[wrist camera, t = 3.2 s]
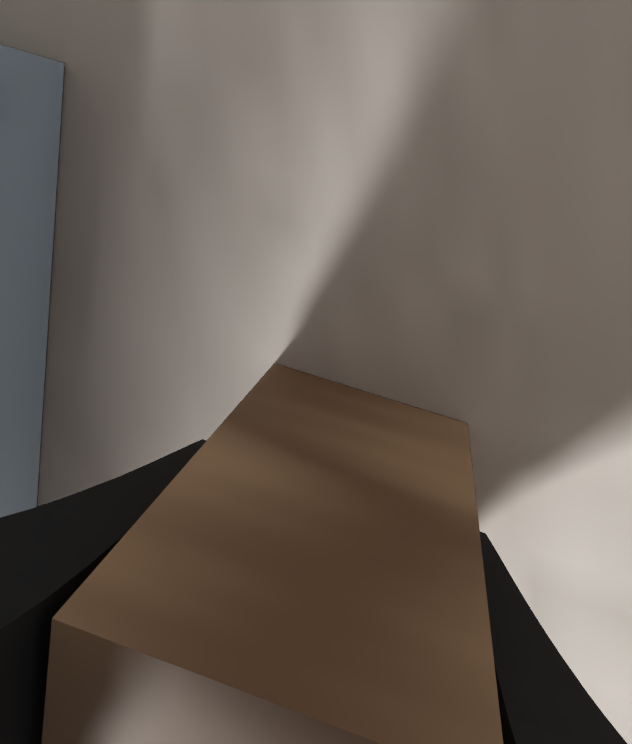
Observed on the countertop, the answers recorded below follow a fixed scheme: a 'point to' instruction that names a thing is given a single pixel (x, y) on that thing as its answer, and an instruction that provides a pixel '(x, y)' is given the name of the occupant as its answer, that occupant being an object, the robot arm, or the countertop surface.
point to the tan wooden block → (290, 588)
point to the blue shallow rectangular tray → (25, 261)
